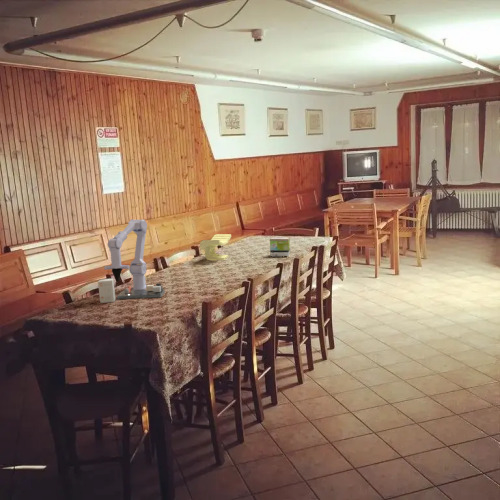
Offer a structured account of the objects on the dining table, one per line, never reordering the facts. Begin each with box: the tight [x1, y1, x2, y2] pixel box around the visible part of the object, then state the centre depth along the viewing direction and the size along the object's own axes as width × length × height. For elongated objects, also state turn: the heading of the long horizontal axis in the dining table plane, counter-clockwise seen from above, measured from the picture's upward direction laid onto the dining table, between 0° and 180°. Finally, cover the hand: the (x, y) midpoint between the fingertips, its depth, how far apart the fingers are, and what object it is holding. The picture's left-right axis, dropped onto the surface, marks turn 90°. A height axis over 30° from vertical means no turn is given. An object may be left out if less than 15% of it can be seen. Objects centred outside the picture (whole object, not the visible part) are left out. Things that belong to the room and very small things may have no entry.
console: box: [116, 285, 166, 300], centre depth 322 cm, size 14×26×4 cm, turn 89°
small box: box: [97, 278, 117, 304], centre depth 312 cm, size 8×6×13 cm
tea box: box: [269, 236, 291, 257], centre depth 431 cm, size 15×10×15 cm
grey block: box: [153, 285, 162, 292], centre depth 321 cm, size 3×4×3 cm
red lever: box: [123, 285, 132, 295], centre depth 321 cm, size 9×2×3 cm, turn 179°
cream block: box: [145, 284, 155, 291], centre depth 325 cm, size 3×4×3 cm
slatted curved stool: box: [199, 233, 232, 261], centre depth 429 cm, size 30×16×18 cm, turn 164°
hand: (118, 280), depth 322 cm, fingers closed
